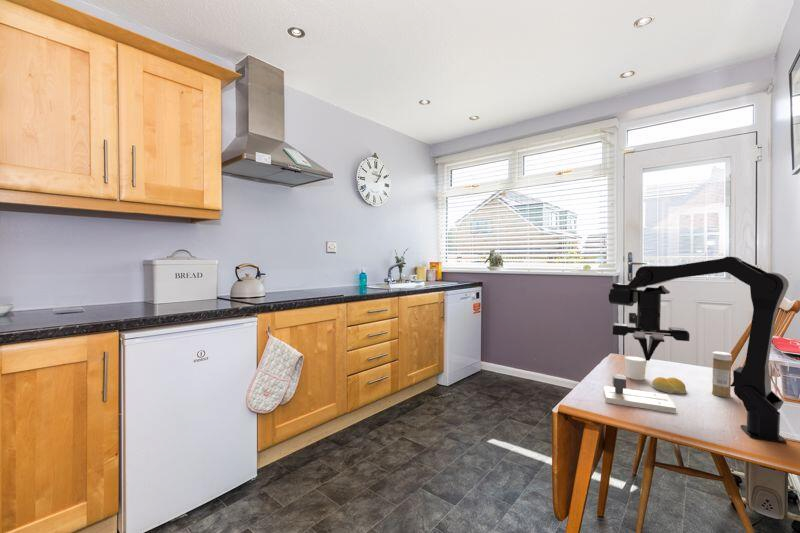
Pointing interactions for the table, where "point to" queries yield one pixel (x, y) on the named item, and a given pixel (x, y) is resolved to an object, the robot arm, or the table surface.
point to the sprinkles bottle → (721, 374)
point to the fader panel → (640, 399)
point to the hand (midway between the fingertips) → (647, 360)
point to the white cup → (635, 367)
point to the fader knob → (619, 383)
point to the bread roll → (669, 385)
